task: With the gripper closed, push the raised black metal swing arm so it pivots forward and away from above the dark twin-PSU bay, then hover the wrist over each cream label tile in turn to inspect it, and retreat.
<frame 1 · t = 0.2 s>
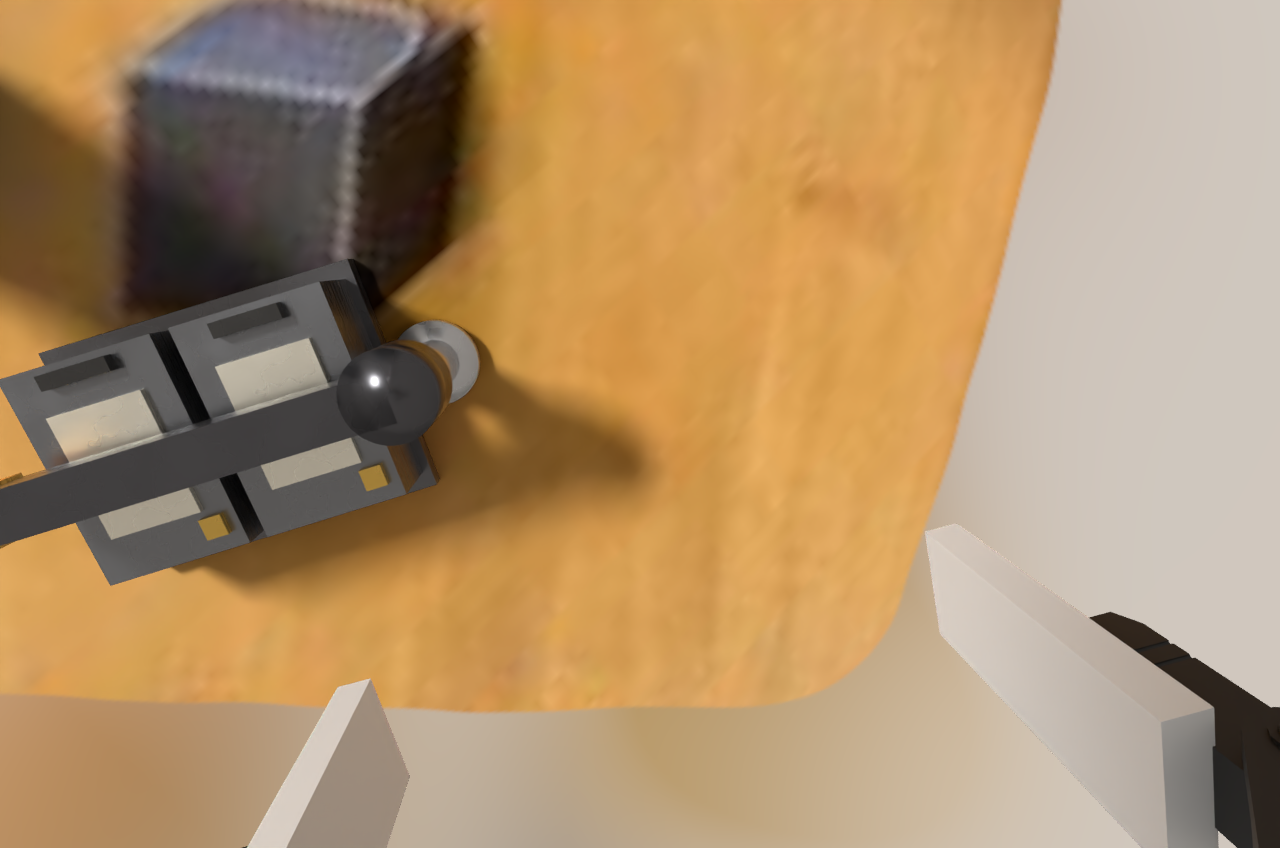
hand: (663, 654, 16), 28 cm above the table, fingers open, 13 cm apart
pivot post: (438, 361, 41), on the table
swing arm: (200, 451, 32), point 9 cm above the table, hinge at 0.0°
psu bay: (254, 418, 41), on the table
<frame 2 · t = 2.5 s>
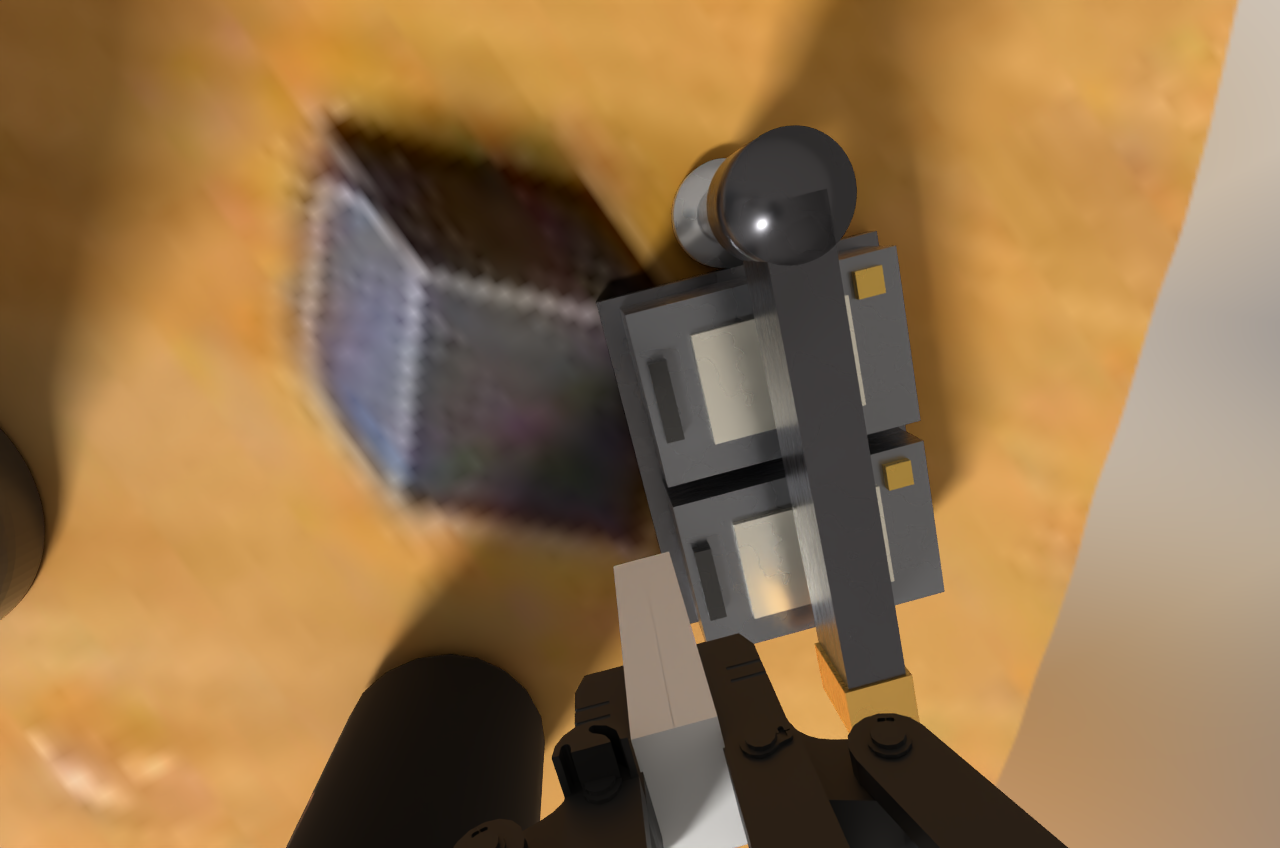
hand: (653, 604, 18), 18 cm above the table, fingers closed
coffee jar: (451, 724, 39), on the table
pivot post: (722, 214, 33), on the table
swing arm: (823, 453, 27), point 9 cm above the table, hinge at 0.0°
psu bay: (767, 435, 36), on the table
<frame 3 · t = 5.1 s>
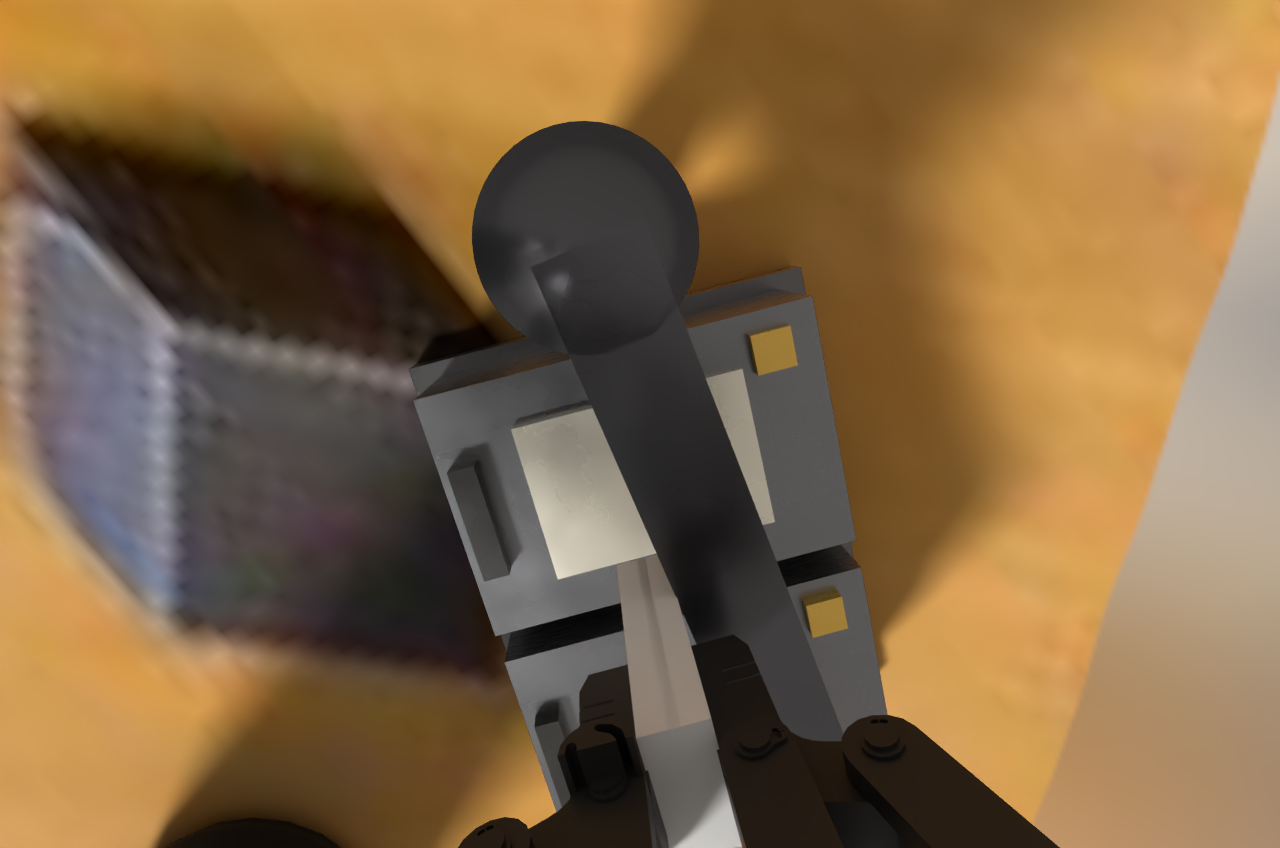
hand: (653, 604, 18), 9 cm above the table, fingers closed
swing arm: (736, 605, 17), point 9 cm above the table, hinge at 8.2°, touching gripper
psu bay: (662, 538, 27), on the table
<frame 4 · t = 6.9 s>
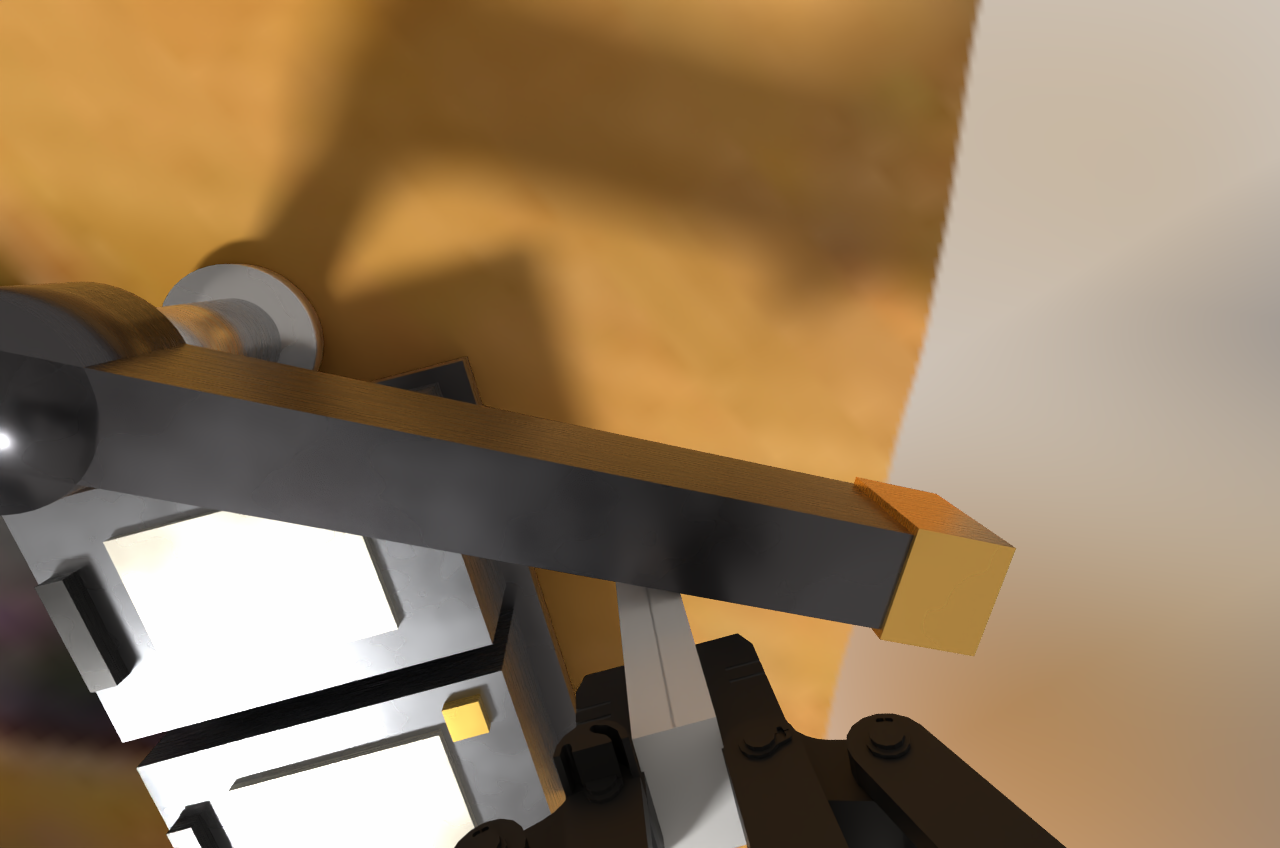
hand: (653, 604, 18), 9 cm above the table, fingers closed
pivot post: (248, 337, 24), on the table
swing arm: (492, 477, 16), point 9 cm above the table, hinge at 62.6°, touching gripper
psu bay: (363, 623, 27), on the table
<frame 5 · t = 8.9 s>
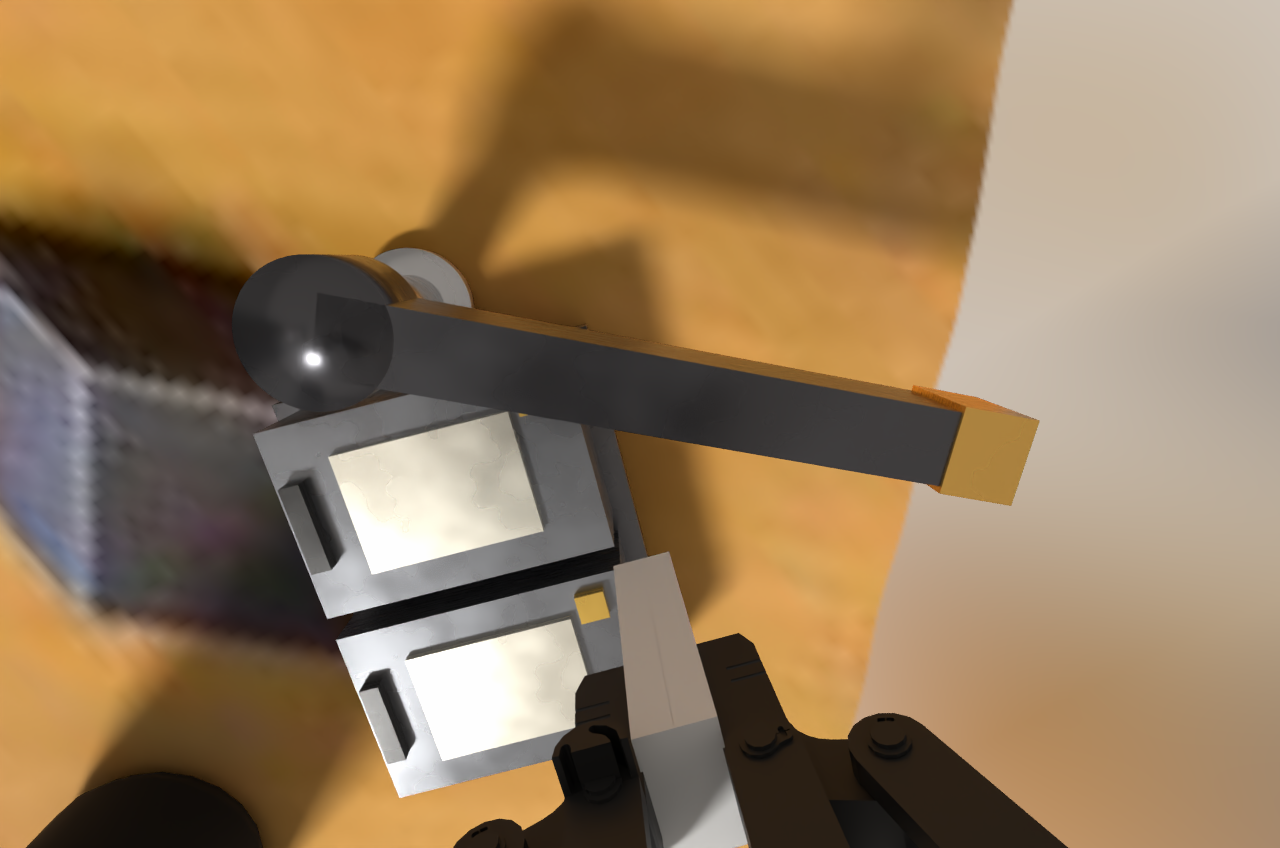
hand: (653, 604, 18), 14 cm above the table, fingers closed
coffee jar: (173, 844, 36), on the table
pivot post: (416, 307, 30), on the table
swing arm: (646, 385, 22), point 9 cm above the table, hinge at 65.2°
psu bay: (493, 543, 33), on the table
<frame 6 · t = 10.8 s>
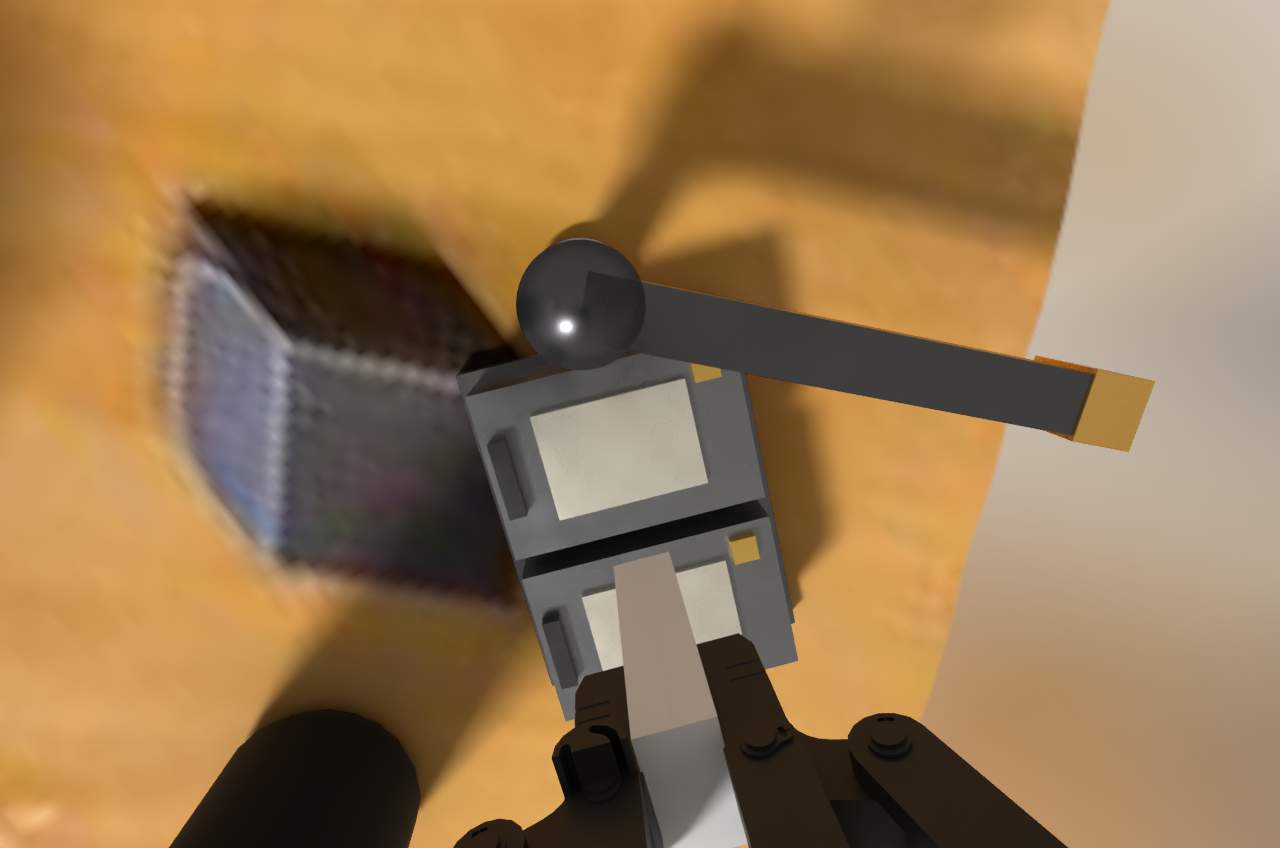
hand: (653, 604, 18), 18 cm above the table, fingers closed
coffee jar: (332, 777, 40), on the table
swing arm: (830, 352, 26), point 9 cm above the table, hinge at 65.2°
psu bay: (635, 501, 37), on the table
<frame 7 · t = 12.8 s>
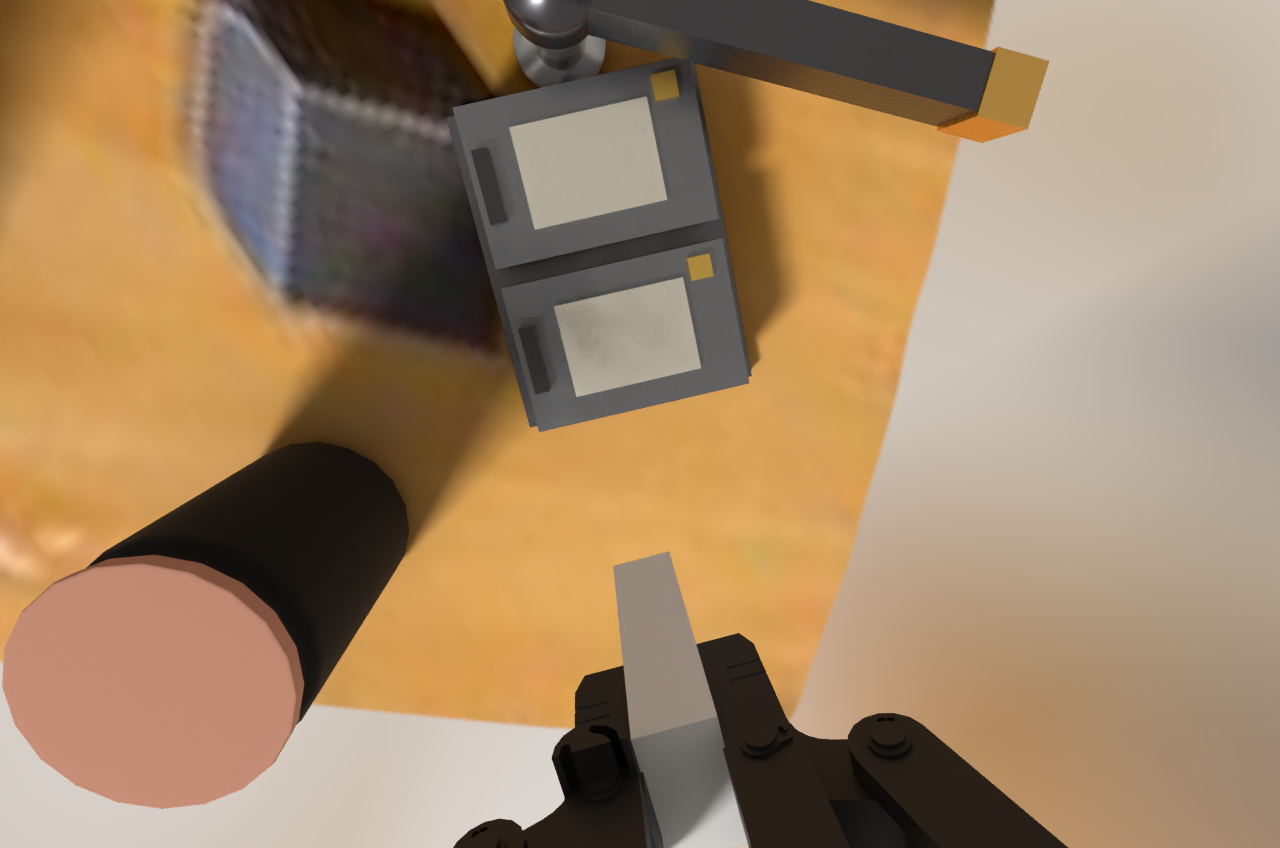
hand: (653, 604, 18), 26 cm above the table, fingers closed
coffee jar: (329, 516, 43), on the table
pivot post: (560, 46, 38), on the table
swing arm: (768, 38, 30), point 9 cm above the table, hinge at 65.2°
psu bay: (607, 254, 41), on the table
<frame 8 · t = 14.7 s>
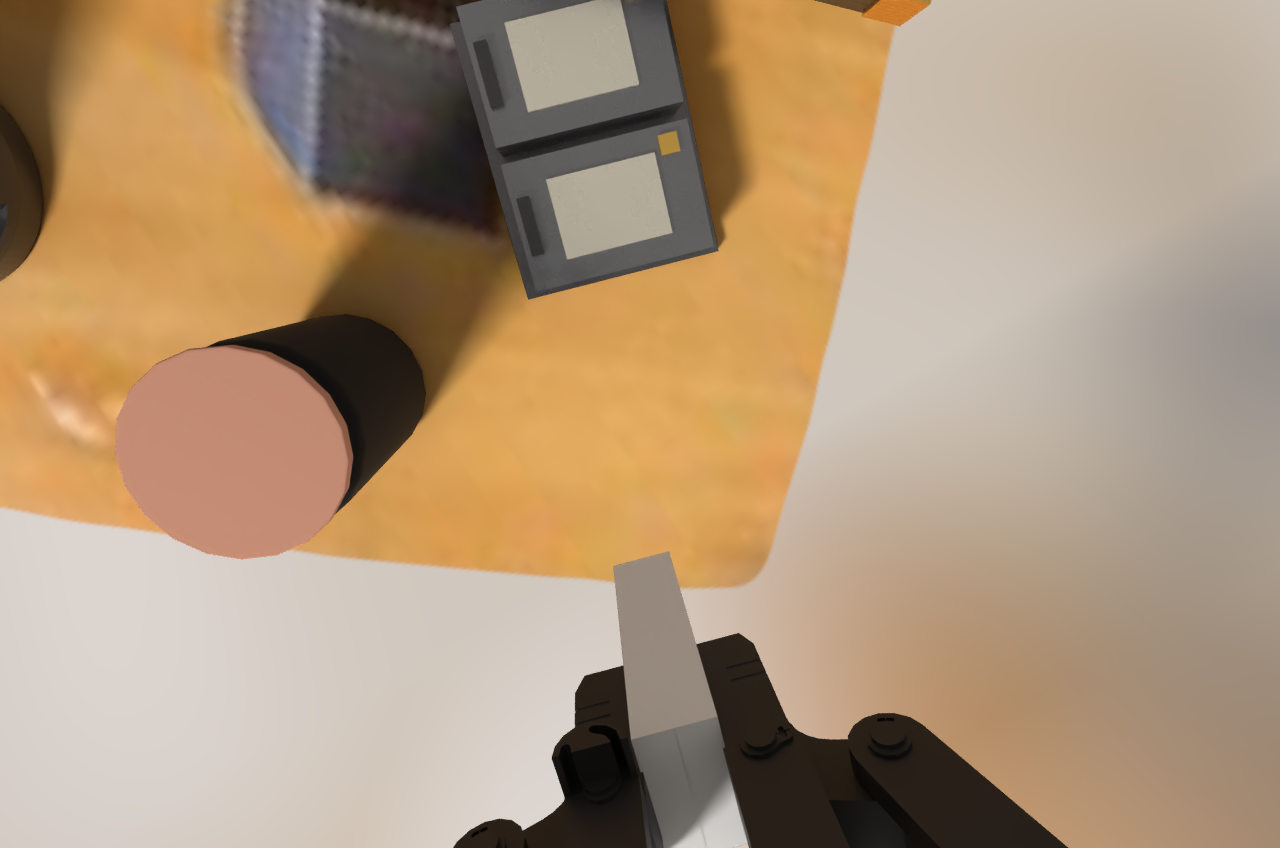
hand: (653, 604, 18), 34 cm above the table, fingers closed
coffee jar: (355, 385, 50), on the table
psu bay: (591, 145, 47), on the table
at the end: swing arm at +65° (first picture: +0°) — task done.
